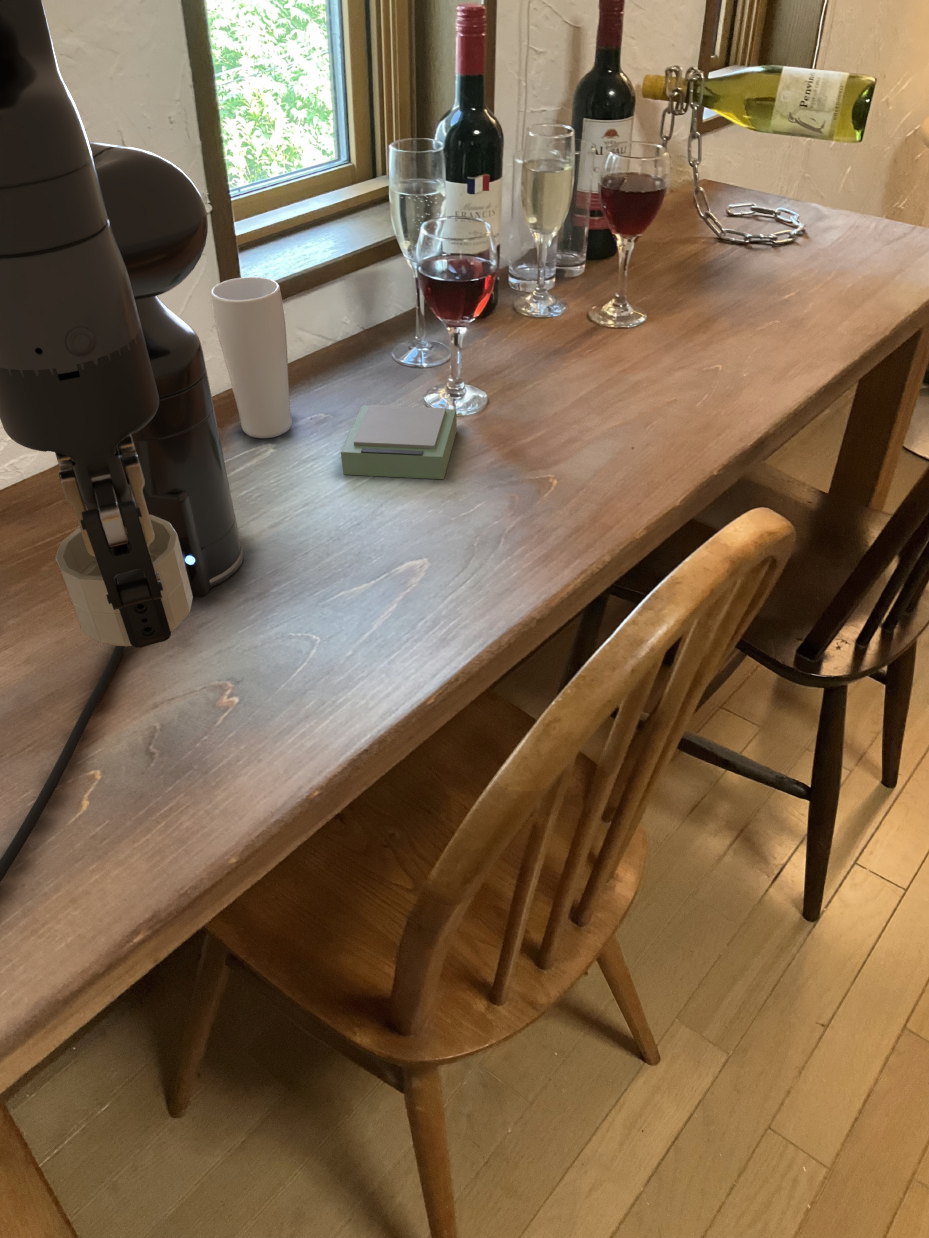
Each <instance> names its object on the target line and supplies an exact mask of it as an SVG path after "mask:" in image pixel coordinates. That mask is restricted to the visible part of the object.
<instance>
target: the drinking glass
mask: <svg viewBox="0 0 929 1238" xmlns="http://www.w3.org/2000/svg"><path fill="white" fill-rule="evenodd" d="M210 299H211V305H212V307H211V308H212V313H213V320H214V324H215V330H216V333H217V334H216V335H217V337H218V338H217V339H218V343H219V346H220V349H221V353H222V356H223V361H224V364H225V368H226V371H227V373H228V374H227V375H228V378H229V382H230V386H231V389H232V393H233V397H234V400H235V404H236V408H237V412H238V417H239V422H240V427H241V430H242V432H244V433H245V434H246V435H247V436H249V437H252V438H256V439H271V438H277V437H279V436H281V435H283V434H285V433H287V432H288V431H289V430H290V429H291V427H292V425H293V416H292V410H291V400H290V399H291V398H290V382H289V381H290V379H289V361H288V360H289V358H288V338H287V325H286V317H285V310H284V309H285V308H284V303H283V298H282V293H281V287H280V284H279V283H278V282H277V281H275V280H273V279H270V278H267V277H260V276H245V277H237V278H231V279H227V280H224V281H221V282H219V283H217V284H215V285H214V286H213V287H212V288H211V290H210Z"/></svg>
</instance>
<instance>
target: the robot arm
mask: <svg viewBox="0 0 929 1238" xmlns="http://www.w3.org/2000/svg"><path fill="white" fill-rule="evenodd" d="M46 15H47V14H46V11H45V7H44V2H43V0H0V422H1V425H2V428H3V430H4V432H5V434H6V435H7V436H8V437H9V438H10V439H11V440H12V441H13V442H15V443H16V444H18V445H20V446H22V447H24V448H27V449H30V450H33V451H38V452H44V453H46V452H51V453H54V454H55V458H56V461H57V464H58V467H59V470H58V477H59V481H60V485H61V489H62V491H63V495H64V498H65V500H66V501H67V503H68V504H70V505H71V506H72V507H73V510H74V513H75V516H76V519H77V522H78V526H79V527H80V529H81V533H82V536H83V539H84V542H85V546H86V549H87V552H88V553H89V554H90V555H91V556H93V557H96V560H97V563H98V566H99V569H100V572H101V575H102V577H103V580H104V583H105V586H106V589H107V592H108V594H106V596H107V600H108V603H109V604H112V606H113V609H114V610H116V609H119V611H120V614H121V617H122V620H123V623H124V626H125V629H126V632H127V635H128V638H129V641H130V644H131V645H132V646H131V647H133V648H136V649H137V648H138V649H139V648H145V647H149V646H152V645H156V644H159V643H164V642H166V641H167V640H169V639H170V638H171V636H172V633H171V632H172V631H170V628H169V624H168V621H167V617H166V614H165V610H164V607H163V604H162V600H161V598H162V595H161V591H163V587H162V584H161V580H160V576H159V573H158V572H155V569H154V566H153V562H152V559H151V555H150V552H149V546H150V544H152V543H153V541H154V539H155V533H154V530H153V526H152V523H151V519H150V516H149V515H153V516H156V517H158V518H161V519H163V520H165V521H168V522H169V523H170V524H171V525H172V527H173V528H174V530H175V532H176V533H177V535H178V539H179V543H180V547H181V551H182V555H183V559H184V563H185V567H186V571H187V575H188V579H189V583H190V587H191V591H192V595H193V596H206V595H207V594H208V593H209V591H210V589H211V588H213V587H215V586H216V585H219V584H221V583H223V582H224V581H226V580H228V579H229V578H230V577H232V575H234V574H235V573H236V572H238V570H239V568H240V567H241V566H242V563H243V561H244V558H245V557H244V555H245V552H244V547H243V543H242V540H241V538H240V534H239V533H240V532H239V527H238V523H237V518H236V513H235V508H234V504H233V503H234V502H233V498H232V492H231V488H230V483H229V477H228V473H227V467H226V462H225V459H224V458H225V457H224V453H223V448H222V443H221V437H220V433H219V427H218V423H217V417H216V411H215V407H214V401H213V396H212V391H211V386H210V380H209V376H208V370H207V367H206V359H205V356H204V351H203V346H202V342H201V339H200V337H199V335H198V334H197V333H196V331H195V329H194V328H193V327H192V326H190V324H188V323H187V322H186V321H184V319H182V318H181V317H180V316H178V315H177V314H176V313H175V312H173V311H172V310H171V309H170V308H169V307H168V306H166V305H165V303H164V302H163V301H162V300H161V298H160V297H159V296H160V295H163V294H166V293H167V292H170V291H171V290H173V289H174V288H176V287H177V286H179V285H181V283H182V282H184V281H185V280H186V279H187V277H188V276H190V274H191V273H192V272H193V270H195V268H196V266H197V265H198V263H199V261H200V260H201V258H202V255H203V252H204V250H205V247H206V244H207V239H208V233H209V231H208V230H209V220H208V213H207V212H208V211H207V209H206V206H205V205H206V204H205V203H204V201H203V197H202V196H201V193H200V191H199V190H198V188H197V187H196V185H195V184H194V183H193V181H192V180H191V179H190V178H189V177H188V176H187V175H186V173H185V172H184V171H183V170H182V169H180V168H179V167H178V166H176V165H175V164H174V163H172V162H171V161H169V160H167V159H165V158H163V157H161V156H159V155H157V154H155V153H153V152H151V151H147V150H144V149H142V148H141V149H140V148H138V147H137V148H136V147H131V146H124V145H119V144H111V143H105V142H99V141H91V140H89V139H88V136H87V132H86V130H85V127H84V124H83V121H82V119H81V116H80V113H79V111H78V108H77V106H76V102H75V101H74V99H73V97H72V95H71V93H70V91H69V89H68V87H67V85H66V84H65V82H64V79H63V76H62V74H61V72H60V68H59V66H58V62H57V57H56V54H55V50H54V46H53V45H54V44H53V41H52V36H51V33H50V27H49V24H48V19H47V16H46ZM139 518H140V519H139ZM140 521H141V522H140ZM125 527H126V528H125ZM126 530H127V531H126ZM136 569H137V570H136ZM132 570H133V571H132ZM128 571H129V572H128ZM124 572H125V573H124ZM120 573H121V574H120ZM116 576H117V577H116ZM158 581H159V582H158ZM126 648H127V646H116V645H114V649H113V651H112V653H111V655H110V658H109V660H108V662H107V664H106V666H105V668H104V669H103V672H102V674H101V675H100V677H99V679H98V681H97V683H96V685H95V686H94V689H93V690H92V693H91V694H90V696H89V698H88V699H87V702H86V703H85V705H84V707H83V709H82V711H81V713H80V715H79V716H78V719H77V721H76V723H75V724H74V727H73V729H72V731H71V732H70V735H69V736H68V739H67V741H66V743H65V745H64V747H63V749H62V751H61V752H60V755H59V756H58V758H57V761H56V762H55V765H54V766H53V769H52V771H51V772H50V774H49V776H48V778H47V780H46V782H45V783H44V785H43V787H42V788H41V790H40V792H39V794H38V795H37V798H36V799H35V801H34V803H33V805H32V806H31V808H30V810H29V811H28V814H26V817H25V819H24V820H23V822H22V823H21V825H20V827H19V829H18V831H16V834H15V835H14V837H13V839H12V840H11V842H10V844H9V845H8V847H7V848H6V850H5V851H4V853H3V855H2V856H1V858H0V884H1V882H2V881H3V880H4V878H5V876H6V875H7V873H8V872H9V870H10V868H11V867H12V865H13V864H14V863H15V860H16V859H17V858H18V856H19V854H20V852H21V851H22V849H23V847H24V846H25V844H26V842H27V841H28V839H29V838H30V835H31V834H32V832H33V830H34V828H35V826H36V825H37V824H38V821H39V820H40V818H41V816H42V814H43V813H44V811H45V809H46V807H47V805H48V804H49V802H50V800H51V798H52V797H53V794H54V793H55V791H56V789H57V787H58V785H59V783H60V781H61V779H62V777H63V775H64V773H65V772H66V770H67V767H68V765H69V764H70V762H71V759H72V757H73V755H74V754H75V751H76V749H77V747H78V745H79V742H80V741H81V739H82V737H83V734H84V732H85V730H86V729H87V726H88V724H89V722H90V720H91V718H92V716H93V714H94V712H95V710H96V708H97V706H98V705H99V703H100V701H101V699H102V697H103V696H104V693H105V691H106V690H107V688H108V686H109V684H110V682H111V680H112V678H113V676H114V674H115V672H116V670H117V668H118V667H119V664H120V661H121V659H122V656H123V655H124V652H125V650H126Z"/></svg>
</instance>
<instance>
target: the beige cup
mask: <svg viewBox="0 0 929 1238" xmlns="http://www.w3.org/2000/svg"><path fill="white" fill-rule="evenodd" d="M149 516H150V519H151V523H152V526H153V530H154V533H155V539H154V541H153V543H152V544H150V546H149V552H150V555H151V559H152V562H153V566H154V569H155V572H158V573H159V576H160V580H161V584H162V587H163V591H161V595H162V598H161V600H162V604H163V607H164V610H165V614H166V617H167V621H168V624H169V628H170V631H171V632H172V631H174V630H175V629H176V628H177V627H178V626H179V625H180V624H181V623H182V622H183V620H184V619H185V618H186V617H187V616H188V615H189V614H190V612H191V609H192V604H193V598H194V595H192V591H191V587H190V583H189V579H188V575H187V571H186V567H185V563H184V559H183V555H182V551H181V547H180V543H179V539H178V535H177V533H176V532H175V530H174V528H173V527H172V525H171V524H170V523H169V522H168V521H165V520H163V519H161V518H158V517H156V516H153V515H149ZM139 519H140V518H139ZM140 522H141V521H140ZM125 528H126V527H125ZM126 531H127V530H126ZM54 557H55V561H56V564H57V567H58V570H59V572H60V575H61V578H62V581H63V583H64V587H65V589H66V591H67V596H68V597H69V600H70V603H71V606H72V609H73V612H74V614H75V617H76V621H77V623H78V625H79V627H80V629H81V632H82V633H83V634H84V635H85V636H86V637H89V638H90V639H92V640H95V641H96V642H99V643H100V644H107V645H110V646H126V647H133V646H132V645H131V644H130V641H129V638H128V635H127V632H126V629H125V626H124V623H123V620H122V617H121V614H120V611H119V609H116V610H114V609H113V606H112V604H109V603H108V600H107V596H106V594H108V592H107V589H106V586H105V583H104V580H103V577H102V575H101V572H100V569H99V566H98V563H97V560H96V557H93V556H91V555H90V554H89V553H88V552H87V549H86V546H85V542H84V539H83V536H82V533H81V529H80V526H79V527H78V528H76V529H75V530H73V531H72V532H71V533H70V534H69V535H68V536H67V537H66V538H64V539H63V540H62V541H61V542H60V545H59V547H58V549H57V552H56V554H55V556H54ZM136 570H137V569H136ZM132 571H133V570H132ZM128 572H129V571H128ZM124 573H125V572H124ZM120 574H121V573H120ZM116 577H117V576H116ZM158 582H159V581H158Z"/></svg>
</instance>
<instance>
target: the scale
mask: <svg viewBox="0 0 929 1238" xmlns="http://www.w3.org/2000/svg"><path fill="white" fill-rule="evenodd" d="M457 431H458V421H457V409H456V408H455V409H453V408H452V409H451V408H446V407H429V406H427V407H426V406H407V405H406V406H405V405H404V406H403V405H381V404H380V405H379V404H370V405H361V407H360V409H359V411H358V413H357V416H356V418H355V420H354V422H353V424H352V426H351V429H350V431H349V433H348V435H347V437H346V440H345V442H344V445H343V446H342V449H341V451H340V458H341V466H342V474H343V475H346V476H347V475H348V476H364V477H365V476H366V477H368V476H369V477H386V478H387V477H389V478H405V479H406V478H407V479H427V480H444V479H445V475H446V472H447V468H448V464H449V461H450V457H451V453H452V450H453V446H454V443H455V442H454V441H455V439H456V435H457Z"/></svg>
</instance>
